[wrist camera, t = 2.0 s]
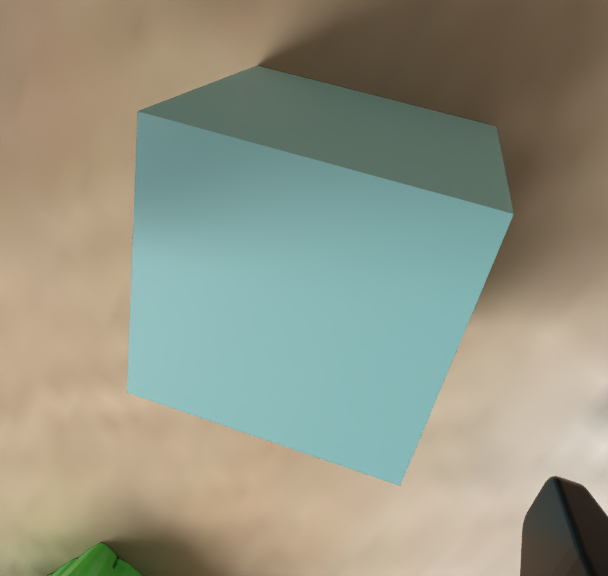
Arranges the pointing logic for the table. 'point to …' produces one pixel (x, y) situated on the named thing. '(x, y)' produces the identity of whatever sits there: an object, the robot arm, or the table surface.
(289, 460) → the table surface
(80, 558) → the fruit basket
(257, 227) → the teal cube
